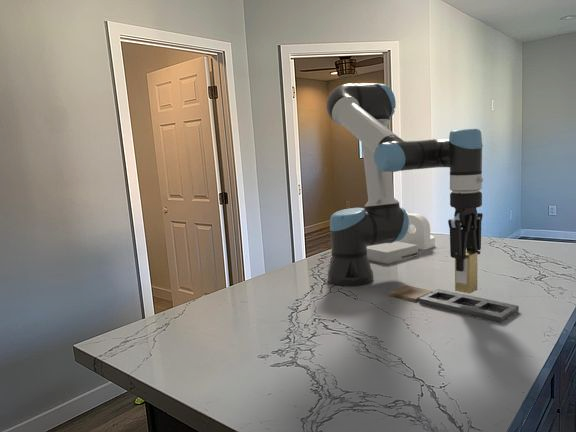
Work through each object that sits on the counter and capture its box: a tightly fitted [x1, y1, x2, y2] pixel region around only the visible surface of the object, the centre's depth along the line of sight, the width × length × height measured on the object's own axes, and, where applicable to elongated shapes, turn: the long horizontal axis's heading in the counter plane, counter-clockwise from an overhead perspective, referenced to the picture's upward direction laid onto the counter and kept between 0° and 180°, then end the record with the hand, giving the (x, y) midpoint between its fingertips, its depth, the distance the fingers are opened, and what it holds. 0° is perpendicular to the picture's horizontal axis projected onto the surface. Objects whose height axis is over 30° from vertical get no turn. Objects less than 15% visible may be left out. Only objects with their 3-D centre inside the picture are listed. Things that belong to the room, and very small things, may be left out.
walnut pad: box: [388, 285, 434, 303], centre depth 128 cm, size 9×9×1 cm
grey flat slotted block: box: [418, 288, 519, 324], centre depth 115 cm, size 22×10×2 cm, turn 41°
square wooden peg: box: [454, 250, 478, 295], centre depth 114 cm, size 4×4×10 cm
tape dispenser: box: [397, 211, 436, 251], centre depth 191 cm, size 12×18×14 cm, turn 41°
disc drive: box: [367, 241, 419, 265], centre depth 177 cm, size 18×22×5 cm
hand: (466, 280), depth 115 cm, fingers closed on square wooden peg, 4 cm apart
